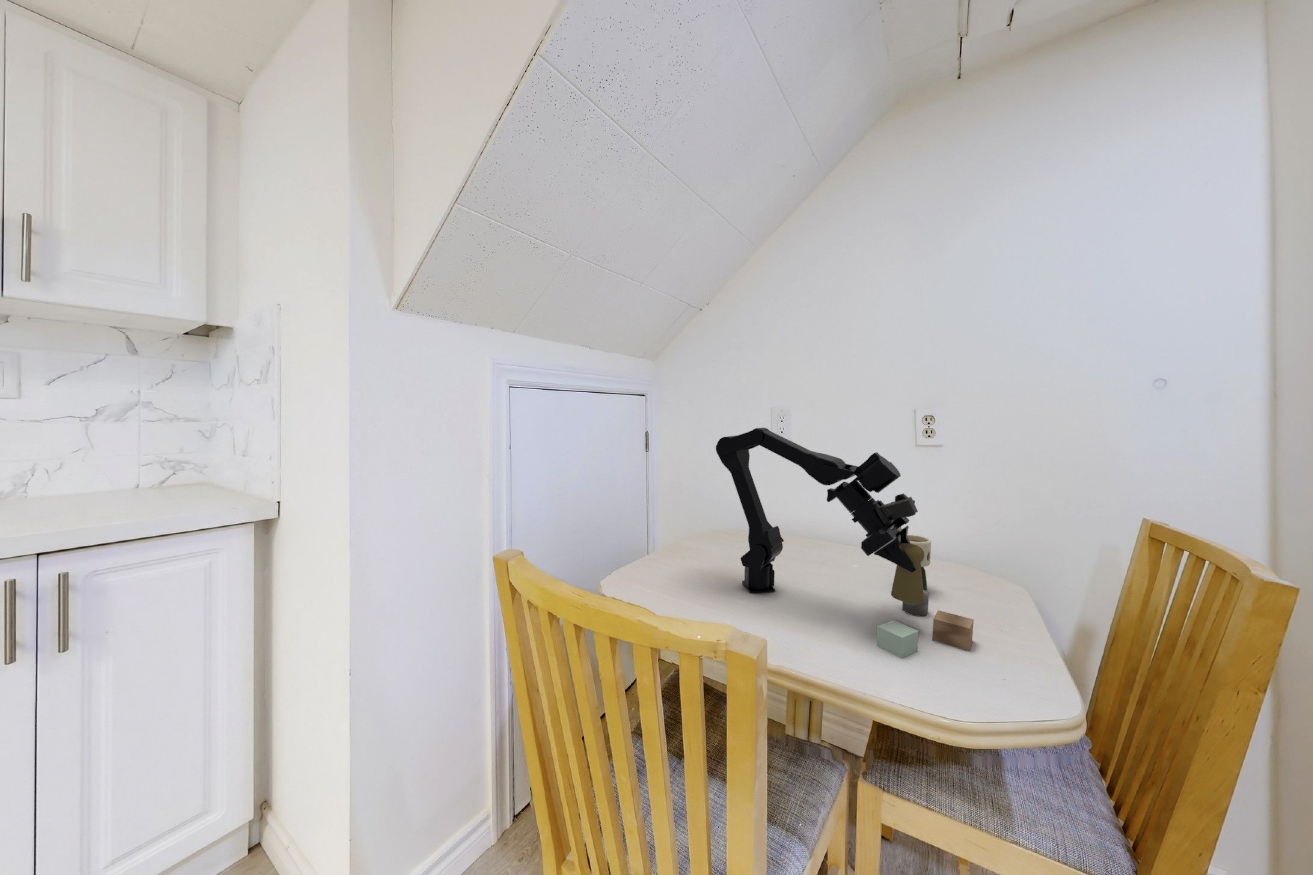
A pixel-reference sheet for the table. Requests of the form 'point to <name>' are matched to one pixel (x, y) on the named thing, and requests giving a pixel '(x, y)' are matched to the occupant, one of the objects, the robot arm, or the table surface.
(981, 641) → the table surface
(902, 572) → the olive pawn
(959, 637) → the walnut block
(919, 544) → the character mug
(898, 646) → the sage block
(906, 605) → the grey short cylinder
